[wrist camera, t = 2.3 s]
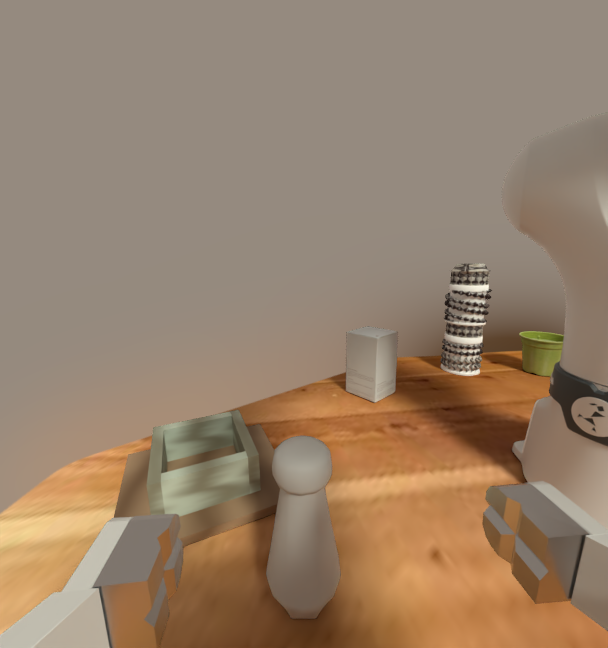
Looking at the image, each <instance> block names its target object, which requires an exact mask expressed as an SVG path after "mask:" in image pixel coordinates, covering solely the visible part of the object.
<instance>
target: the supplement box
mask: <svg viewBox="0 0 608 648" xmlns="http://www.w3.org/2000/svg"><path fill="white" fill-rule="evenodd" d="M346 336H347V337H346V339H347V340H346V343H347V345H346V391H347V392H349V393H352V394H354V395H357V396H359V397H362V398H364V399H367V400H369V401H372V402H374V403H375V402H377V401H379V400H381V399H383V398H385V397H387V396H388V395H390V394H392V393H394V392H395V386H396V365H397V344H398V343H397V342H398V332H397V331H391V330H386V329H380V328H374V327H369V326H367V327H363V328H359V329H356V330H352V331H349V332H346Z"/></svg>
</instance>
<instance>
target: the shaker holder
mask: <svg viewBox="0 0 608 648" xmlns="http://www.w3.org/2000/svg"><path fill="white" fill-rule="evenodd" d="M273 456H274V449H273V447H272V445H271V443H270V441H269V440H268V438H267V436H266V434H265V432H264V430H263V428H262V427H261V425H260V424H257V425H252V426H248V427H246V425H245V423H244V420H243V418H242V416H241V414H240V412H239V410H235V411H230V412H226V413H221V414H216V415H211V416H206V417H202V418H198V419H192V420H187V421H182V422H178V423H173V424H168V425H164V426H159V427H154V428H153V435H152V444H151V449H150V450H146V451H141V452H137V453H133V454H129V455H128V459H127V463H126V467H125V471H124V476H123V480H122V484H121V489H120V493H119V497H118V502H117V506H116V510H115V515H114V518H120V517H134V516H145V515H162V514H178V515H179V518H180V525H181V527H180V530H179V533H178V536H177V537H178V538H179V539H180V540H181V541H182V543H183V547H184V546H187V545H189V544H192V543H195V542H197V541H200V540H203V539H206V538H208V537H211V536H214V535H217V534H219V533H222V532H225V531H228V530H230V529H233V528H236V527H239V526H241V525H244V524H247V523H250V522H252V521H255V520H258V519H261V518H263V517H266V516H269V515H271V514H274V513H276V510H277V504H278V498H279V492H280V487H279V486H278V484H277V482H276V480H275V479H274V476H273V473H272V462H273Z"/></svg>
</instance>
